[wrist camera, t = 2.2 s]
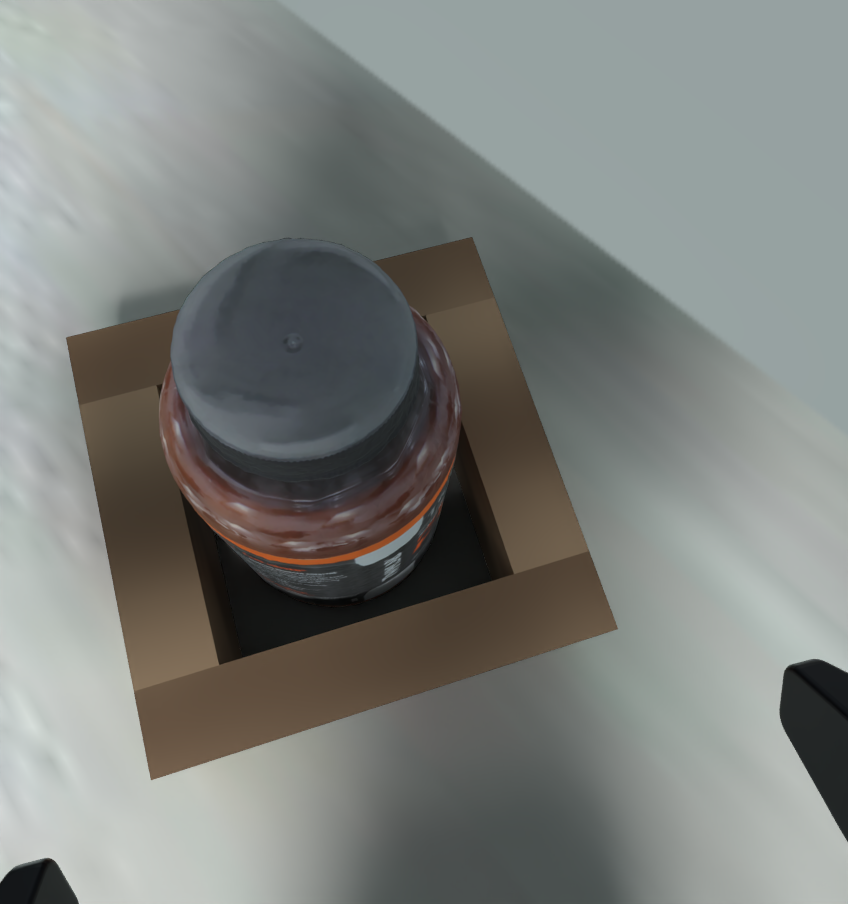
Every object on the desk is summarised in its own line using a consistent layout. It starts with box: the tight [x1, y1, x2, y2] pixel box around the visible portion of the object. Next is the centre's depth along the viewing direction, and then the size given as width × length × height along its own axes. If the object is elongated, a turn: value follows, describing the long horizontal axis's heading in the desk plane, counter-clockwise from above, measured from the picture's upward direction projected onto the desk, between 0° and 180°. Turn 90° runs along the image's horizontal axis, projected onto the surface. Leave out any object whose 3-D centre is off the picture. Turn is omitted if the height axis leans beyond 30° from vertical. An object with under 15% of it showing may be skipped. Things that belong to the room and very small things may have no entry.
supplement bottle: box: [159, 238, 462, 607], centre depth 18 cm, size 6×6×11 cm
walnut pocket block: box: [66, 237, 618, 780], centre depth 21 cm, size 11×11×4 cm
